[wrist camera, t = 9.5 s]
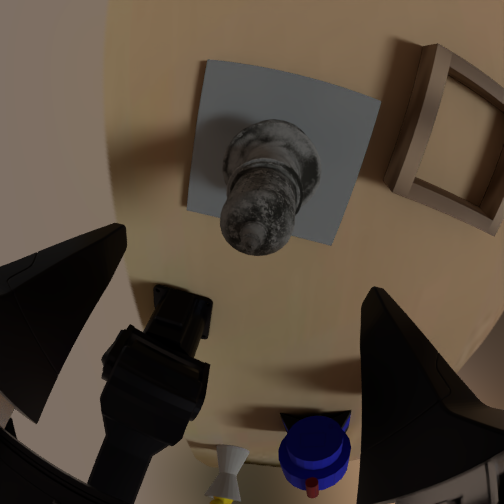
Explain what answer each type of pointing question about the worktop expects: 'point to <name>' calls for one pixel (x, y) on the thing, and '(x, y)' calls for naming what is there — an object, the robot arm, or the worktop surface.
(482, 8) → the worktop surface
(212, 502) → the lava lamp
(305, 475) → the alarm clock
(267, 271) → the worktop surface
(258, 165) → the salt shaker
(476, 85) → the walnut holder
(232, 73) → the slate coaster
